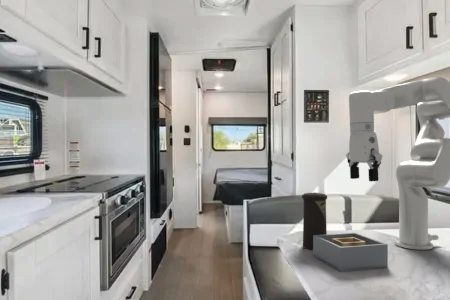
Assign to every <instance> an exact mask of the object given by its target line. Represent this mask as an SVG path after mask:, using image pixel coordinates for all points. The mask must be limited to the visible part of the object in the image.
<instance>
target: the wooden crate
mask: <svg viewBox="0 0 450 300" xmlns="http://www.w3.org/2000/svg"><path fill="white" fill-rule="evenodd" d="M332 243H334V244H336V245H338V246H341V247H347V246H360V245H365V241H362V240H360V239H357V238H354V237H350V238H335V239H332Z"/></svg>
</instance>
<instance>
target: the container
mask: <svg viewBox="0 0 450 300" xmlns="http://www.w3.org/2000/svg"><path fill="white" fill-rule="evenodd" d="M301 197H302V199H303V221H302V222H303V223H302V226H303V227H302V230H303V231H302V247H303V248H304V249H306V250H311V251H313V235H326V234H327V231H328V230H327V200H328V195H326V194H325V193H322V192H321V193H320V192H305V193H303V194H302V195H301Z"/></svg>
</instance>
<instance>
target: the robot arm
mask: <svg viewBox="0 0 450 300" xmlns="http://www.w3.org/2000/svg"><path fill="white" fill-rule="evenodd" d="M414 105H416V115H417V118H418V121H419V127H420V129H419V132H418V135H417V137H416V139H415V141H414V143H413V145H412V147H411V149H410V152H409V153H410V158H411V159H412V160H407V161H402V162H400V163H399V164H398V165H397V167H396V170H395V176H396V180H397V181H396V182H397V186H398V207H399V210H398V215H399V216H398V217H399V218H398V227H399V228H398V229H399V230H398V234H399V236H398V237H399V238H397V239H395V240H394V245H396V246H398V247H401V248H403V249H410V250H415V251H416V250H417V251H427V250H432V249H433V248H434V244H433V243H432V241H437V240H439V236H438V234H430V233H429V197H428V196H427V193H426V191H425V189H423V188H427V189H429V188H430V189H442V188H444V187H446V185H448V183H449V181H450V138H449V137H445V133H446V132H445V129H444V128H443V126H442V125H441V124H440V123H439V122H438V120H437V119H448V118H450V81H449V80H448V79H446V78H445V77H442V76H435V77H431V78H424V79H418V80H414V81H409V82H405V83H400V84H396V85H392V86H389V87H385V88H382V89H381V88H380V89H378V90H373V91H370V90H358V91H353V92H350V94H349V95H348V109H349V132H350V133H349V144H348V145H349V146H348V147H349V149H348V150H349V151H348V152H347V153H346V154H345V158H346V159H347V163H348V167H349V175H350V179H352V180H354V179H355V180H357V179H360V167H359V164H360V163H363V164H364V163H365V164H367V165H368V167H369V168H368V170H367V172H368V181H369V182H379V169H380V166H381V164H382V159H383V155H382V153H380V150H379V142H378V136H377V132H376V131H375V117H374V115H375V114H384V113H387V112H390V111H392V110H398V109H404V108H407V107H410V106H414Z"/></svg>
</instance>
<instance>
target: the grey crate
mask: <svg viewBox="0 0 450 300" xmlns="http://www.w3.org/2000/svg"><path fill="white" fill-rule="evenodd" d="M350 237H354V238H357V239H360V240H362V241H365V245H360V246H347V247H341V246H338V245H336V244H334V243H332V239H335V238H350ZM388 245H389V244H387V243H385V242H382V241H379V240H376V239H375V238H371V237H369V236H365V235H362V234H360V233H357V232H346V233H345V232H344V233H329V234H326V235H313V250H312V252H313V253H312V254H313V255H312V256H313V257H314V258H316V259H317V260H319V261H321V262H323V263H324V264H326V265H328V266H329V267H332V268H333V269H334V270H336V271H338V272H340V273H346V272H355V271H356V272H357V271H366V270H377V269H387V268H389V265H388V263H389V262H388V258H389V255H388V254H389V252H388V248H389V247H388Z"/></svg>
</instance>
